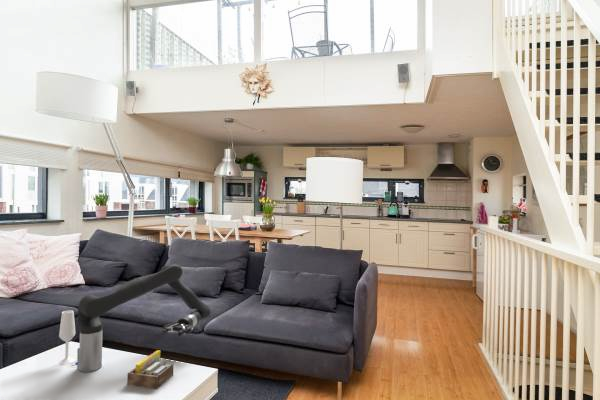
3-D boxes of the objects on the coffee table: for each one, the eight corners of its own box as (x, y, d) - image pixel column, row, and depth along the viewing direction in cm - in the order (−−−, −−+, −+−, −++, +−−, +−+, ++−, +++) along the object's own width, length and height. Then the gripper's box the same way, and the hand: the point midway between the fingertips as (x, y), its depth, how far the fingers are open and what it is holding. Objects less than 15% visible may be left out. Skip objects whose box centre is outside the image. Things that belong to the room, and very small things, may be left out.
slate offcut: (153, 385, 155) (153, 372, 155) (162, 377, 162) (162, 365, 162) (157, 385, 154) (157, 372, 155) (166, 378, 161) (166, 365, 161)
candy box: (138, 384, 156) (139, 365, 156) (134, 383, 156) (134, 364, 156) (160, 367, 171) (160, 350, 172) (156, 367, 172) (156, 349, 172)
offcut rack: (127, 385, 155) (127, 373, 155) (145, 371, 167) (145, 360, 167) (157, 389, 152) (157, 377, 152) (173, 375, 164) (173, 364, 164)
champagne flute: (54, 363, 174) (56, 312, 174) (68, 357, 180) (69, 309, 180) (65, 365, 172) (66, 314, 172) (78, 359, 178) (79, 310, 178)
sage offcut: (145, 383, 156) (145, 369, 156) (156, 375, 164) (156, 361, 164) (149, 384, 156) (149, 370, 156) (160, 375, 164) (160, 362, 164)
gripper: (175, 315, 199) (157, 325, 183) (199, 316, 196) (183, 327, 180) (175, 328, 199) (157, 340, 183) (199, 330, 196) (183, 342, 180)
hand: (170, 333), depth 181 cm, fingers open, 8 cm apart
